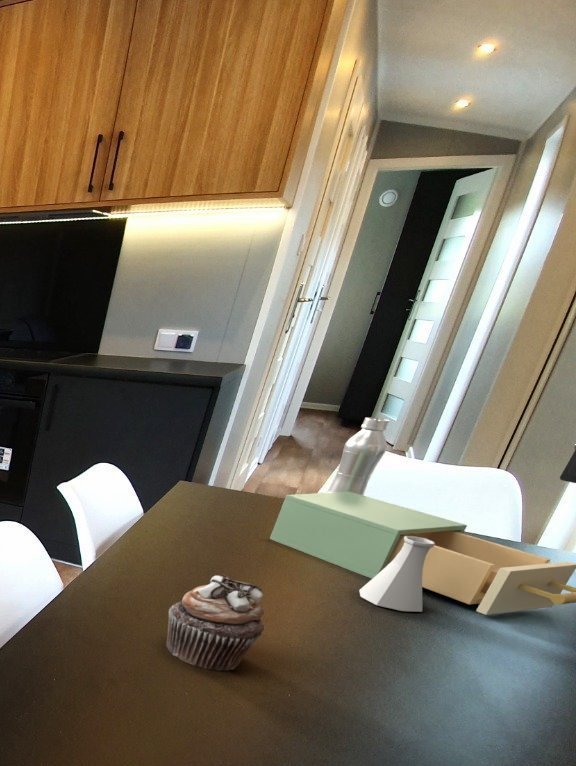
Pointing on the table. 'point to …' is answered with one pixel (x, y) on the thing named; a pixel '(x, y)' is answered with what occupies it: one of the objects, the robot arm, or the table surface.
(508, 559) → the drawer
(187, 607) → the cupcake
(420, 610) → the flask
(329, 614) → the table surface
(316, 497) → the cabinet
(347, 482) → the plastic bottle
